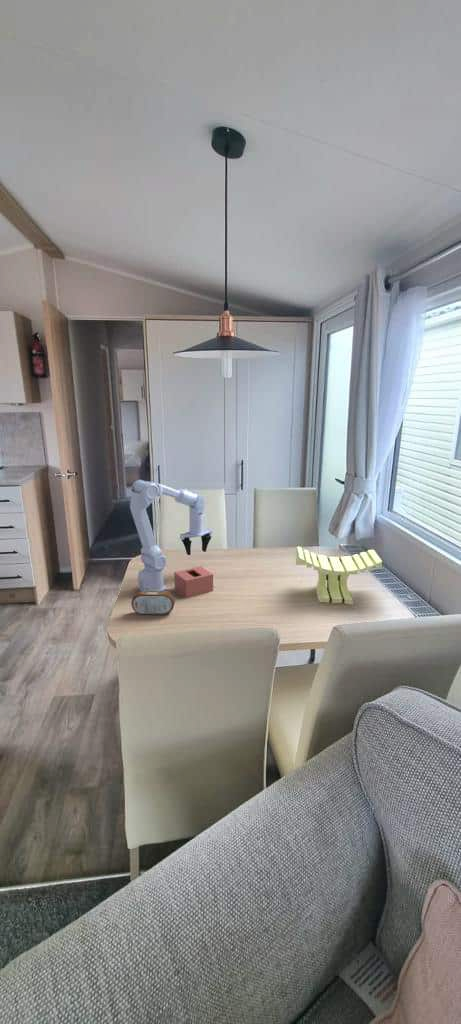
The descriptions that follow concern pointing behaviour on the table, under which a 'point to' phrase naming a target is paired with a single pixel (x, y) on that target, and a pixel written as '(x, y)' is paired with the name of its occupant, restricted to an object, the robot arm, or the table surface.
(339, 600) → the slatted curved stool
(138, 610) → the tin
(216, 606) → the table surface
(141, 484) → the robot arm
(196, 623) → the table surface
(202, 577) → the money box
